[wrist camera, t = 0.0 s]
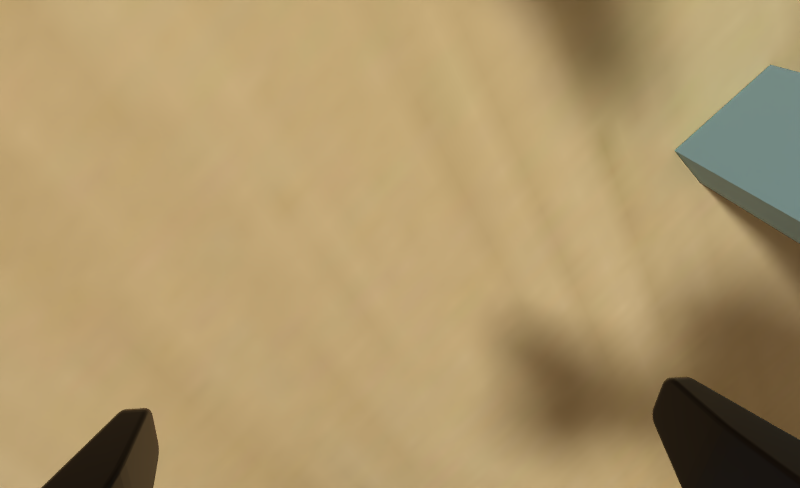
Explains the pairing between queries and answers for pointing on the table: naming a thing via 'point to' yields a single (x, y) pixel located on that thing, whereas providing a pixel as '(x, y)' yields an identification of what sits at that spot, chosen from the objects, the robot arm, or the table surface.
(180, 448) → the table surface
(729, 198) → the teal slotted plate
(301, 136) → the table surface
